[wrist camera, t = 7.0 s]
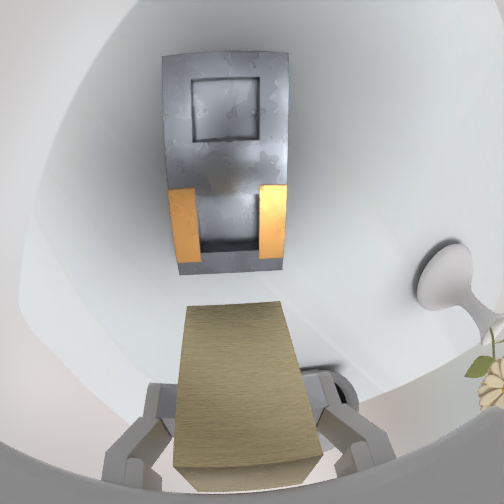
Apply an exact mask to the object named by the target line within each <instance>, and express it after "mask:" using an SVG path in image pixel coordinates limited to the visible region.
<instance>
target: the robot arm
mask: <svg viewBox="0 0 504 504" xmlns="http://www.w3.org/2000/svg"><path fill="white" fill-rule="evenodd" d="M302 379H303V382H304V386H305V389H306V393H307V396H308V400H309V404H310V407H311V411H312V414H313V418H314V421H315V425H316V429H317V430H318V431H319V432H320V433H321V434H322V435H323V436H324V437H326V438H327V439H328V440H329V441H330V442H331V443H332V444H333V445H334V446H335V447H336V448H337V449H339V450H340V451H341V452H342V453H343V455H342V456H341V458H340V459H339V460H338V461H337V462H336V464H335V465H334V466H335V469H336V473H337V477H338V478H335V479H331V480H327V481H323V482H318V483H314V484H309V485H304V486H298V487H293V488H286V489H279V490H271V491H263V492H252V493H236V494H191V493H175V492H174V493H173V492H164V491H162V477H161V476H160V475H159V474H157V473H156V472H155V471H154V470H153V469H151V467H152V466H153V464H154V463H155V462H156V460H157V459H158V457H159V456H160V454H161V453H162V452H163V451H164V449H165V448H166V446H167V445H168V444H169V442H170V441H171V439H172V437H174V431H175V415H176V402H177V390H178V384H163V383H149V385H148V389H147V394H146V400H145V407H144V413H143V417H139V418H138V419H137V420H136V421H135V422H134V423H133V424H132V425H131V426H130V428H129V429H128V430H127V431H126V432H125V433H124V434H123V435H122V436H121V437H120V438H119V439H118V440H117V441H116V442H115V443H114V444H113V445H112V446H111V447H110V448H109V449H108V450H107V451H106V453H105V459H104V466H103V472H102V479H101V480H97V479H93V478H90V477H86V476H82V475H79V474H76V473H73V472H70V471H67V470H64V469H61V468H58V467H56V466H53V465H50V464H48V463H45V462H43V461H40V460H38V459H36V458H33V457H31V456H29V455H26V454H24V453H22V452H20V451H18V450H16V449H14V448H11V447H10V446H8V445H6V444H4V443H2V442H0V504H504V409H502V408H500V407H497V406H491V407H489V408H487V409H486V410H484V411H483V412H482V413H480V414H479V415H477V416H476V417H474V418H473V419H471V420H469V421H468V422H466V423H465V424H463V425H462V426H460V427H458V428H456V429H455V430H453V431H451V432H450V433H448V434H446V435H444V436H442V437H440V438H439V439H437V440H435V441H433V442H431V443H429V444H427V445H425V446H423V447H421V448H418V449H416V450H414V451H412V452H410V453H407V454H405V455H403V456H400V457H398V458H396V456H395V453H394V451H393V448H392V446H391V443H390V441H389V438H388V436H387V433H386V432H385V431H383V430H382V429H380V428H379V427H378V426H376V425H375V424H373V423H372V422H370V421H369V420H368V419H366V418H365V417H363V416H362V415H361V414H359V413H358V412H357V411H355V410H354V409H352V408H351V407H350V406H348V405H347V404H346V403H344V404H342V403H341V400H340V397H339V395H338V392H337V389H336V387H335V384H334V381H333V379H332V376H331V374H330V373H329V372H323V373H317V374H316V373H315V374H309V375H303V376H302Z"/></svg>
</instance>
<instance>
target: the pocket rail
mask: <svg viewBox="0 0 504 504" xmlns="http://www.w3.org/2000/svg"><path fill="white" fill-rule="evenodd" d="M288 101H289V53H283V52H267V51H216V52H199V53H188V54H178V55H170V56H163V57H162V103H163V128H164V145H165V159H166V171H167V182H168V197H169V206H170V215H171V223H172V231H173V238H174V245H175V252H176V259H177V263H178V269H179V275H195V274H216V273H236V272H255V271H272V270H282V264H283V255H284V238H285V219H286V197H287V185H286V184H287V154H288Z"/></svg>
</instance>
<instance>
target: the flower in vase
mask: <svg viewBox="0 0 504 504" xmlns="http://www.w3.org/2000/svg"><path fill="white" fill-rule="evenodd" d="M472 273H473V259H472V255H471V253H470V251H469V249H468V248H467V247H466V246H465V245H463V244H452V245H449V246H446V247H445V248H443V249H441V250H440V251H439V252H438V253H437V254H436V255H435V256H434V257H433V258H432V259H431V260H430V261H429V263H428V264H427V266H426V267H425V269H424V271H423V272H422V275H421V277H420V280H419V283H418V288H417V298H418V302H419V304H420V306H421V307H423V308H425V309H427V310H430V311H436V310H442V309H446V308H449V307H452V306H455V305H459V306H461V307H463V308H464V309H465V310H466V311H467V312H468V313H469V314H470V315H471V317H472V318H473V320H474V321H475V323H476V324H477V326H478V328H479V331H480V336H481V345H482V346H485V345H487V344H489V343H490V342H491V341H492V347H493V359H492V358H491V357H488V356H479V357H478V358H477V359H476V360H475V361H474V363H473V364H472V365H471V367H470V368H469V370H468V371H467V373H466V374H465V377H469V378H478V377H482V376H484V375H486V374H487V373H488V375H487V376H486V377H485V379H484V380H483V381H482V383H481V387H480V388H479V390H478V393H479V397H480V398H481V399H480V402H479V404H480V406H482V407H481V413H482V412H483V411H484V410H486V409H487V408H489V407H491V406H497V407H500V408H502V409H504V357H503V358H502V359H497V360H495V343H494V338H495V337H496V336H497V335H498V334H499V332H500V331H501V330H502V328H503V326H504V314H498V313H495V312H493V311H491V310H490V309H488V308H487V307H485V306H484V305H483V304H482V303H481V302H480V301H479V300H478V299H477V298H476V297H475V296H474V294H473V293H472V290H471V280H472ZM501 342H504V340H502V341H500V342H497V343H501ZM492 362H493V363H492ZM490 367H491V368H490Z"/></svg>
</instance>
